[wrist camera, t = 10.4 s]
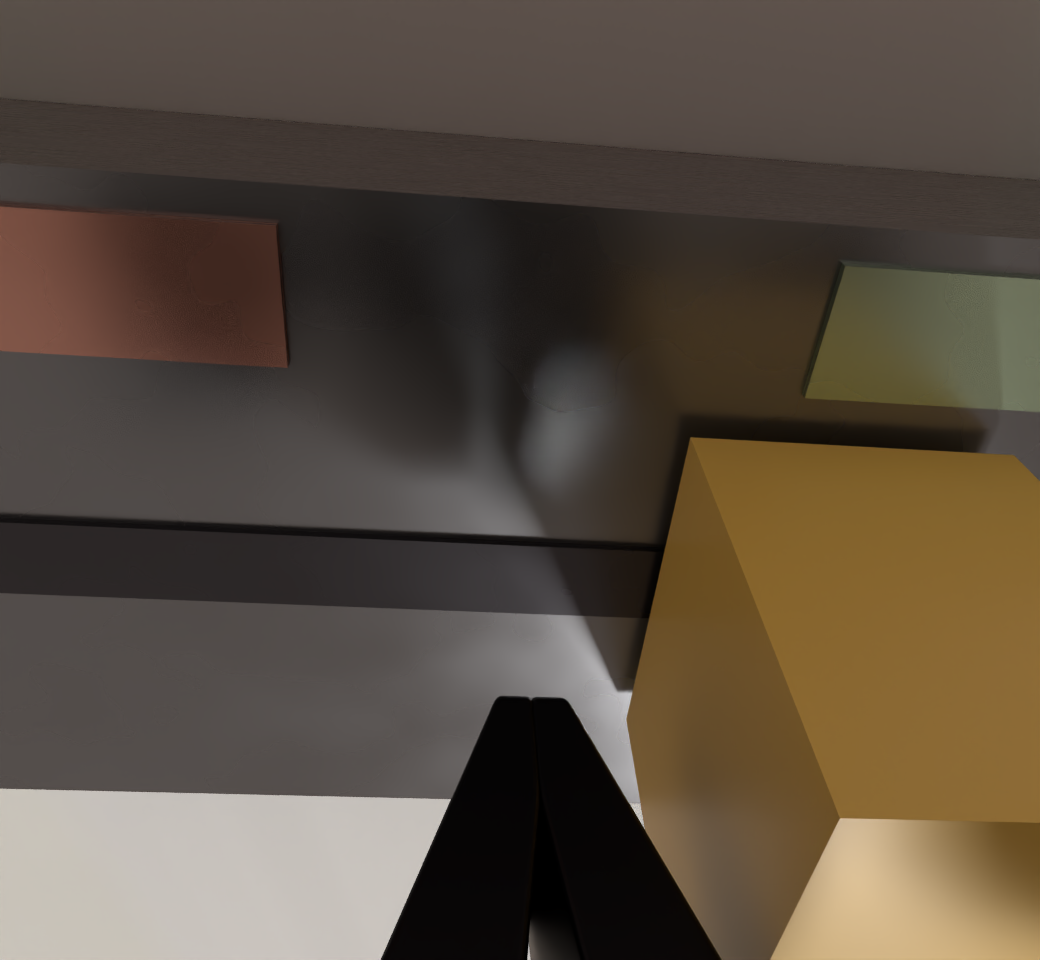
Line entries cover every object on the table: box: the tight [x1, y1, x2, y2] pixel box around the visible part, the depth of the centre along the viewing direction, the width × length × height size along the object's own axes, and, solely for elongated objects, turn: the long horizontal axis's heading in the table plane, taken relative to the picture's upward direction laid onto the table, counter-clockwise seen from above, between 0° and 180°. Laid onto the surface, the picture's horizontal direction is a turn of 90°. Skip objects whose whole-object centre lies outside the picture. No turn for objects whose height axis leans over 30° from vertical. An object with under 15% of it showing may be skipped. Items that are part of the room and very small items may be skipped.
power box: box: [0, 99, 1040, 803], centre depth 12 cm, size 22×10×3 cm, turn 85°
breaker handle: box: [626, 437, 1040, 960], centre depth 9 cm, size 4×5×5 cm
